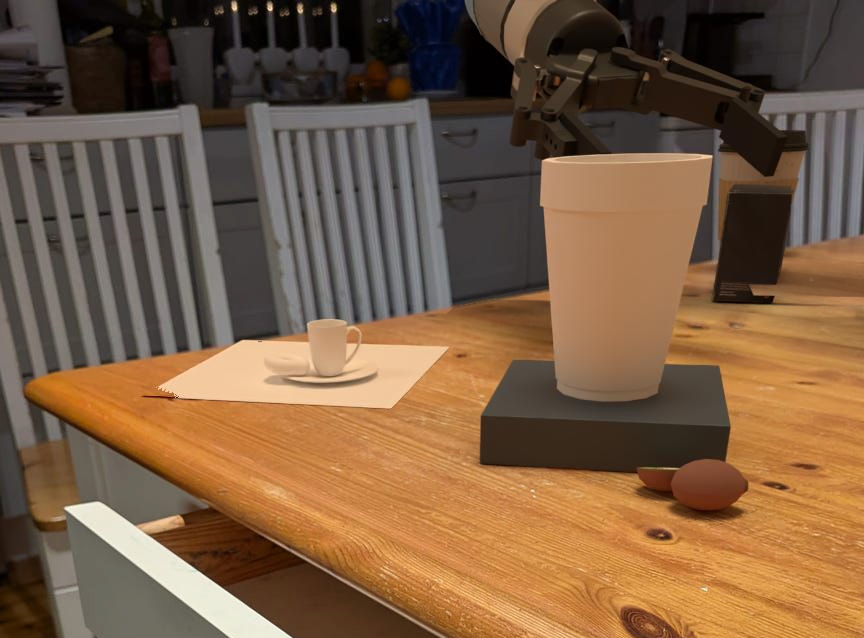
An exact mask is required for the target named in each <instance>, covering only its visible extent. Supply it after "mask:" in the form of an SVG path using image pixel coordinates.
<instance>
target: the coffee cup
mask: <svg viewBox="0 0 864 638" xmlns="http://www.w3.org/2000/svg"><path fill="white" fill-rule="evenodd" d="M779 130H780V131H781V132H783V133H784V134H785V135H786V136H788V138H787V141H786V144H785V147H784V149H783V152H782V155H781V157H780V160H779V163H778V166H777V168H776V171H775V174H774V176H770V177H764V176H763V175H762V174H761V173H759V172H758V171H757V170H756V169H755V168H754V167H753V166H751V165H750V164H749V163H748V162H747V161H746V160H745V159H743V158H742V157H741V156H740V155H739V154H738V153H737V152H735V151H734V150H733V149H732V148H731V147H730V146H729V145H727V144H726V143H725V142H724V141H723V140H722V143H720V144H719V146H718V147H719V148H718V149H717V152H718V153H720V178H718V215H717V216H718V218H717V219H718V220H717V223H718V224H717V240H718V251H719V250H720V241H721V235H722V228H723V222H724V214H725V207H726V200H727V194H728V192H729V190H730V189H731V188H732V186H733V185H734V184H756V185H781V186H792V204H791V206H792V205H793V201H794V198H795V194H796V190H797V186H798V183H799V180H800V177H799V173H800V170H801V167H802V163H803V158H804V156H805V152H807V151H809V149H810V147H809V145H810V144H809V142H807V133H806V132H807V131H806V130H803V129H779Z"/></svg>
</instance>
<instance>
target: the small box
mask: <svg viewBox="0 0 864 638" xmlns="http://www.w3.org/2000/svg"><path fill="white" fill-rule="evenodd" d="M791 204H792V205H793V202H792V186H781V185H756V184H734V185H733V186H732V188H731V189H730V190H729V192H728V194H727V200H726V207H725V214H724V222H723V228H722V235H721V241H720V250H719V249H718V258H717V264H716V270H715V276H714V281H713V286H712V287H713V288H712V294H711V301H713V302H715V301H718V302H719V301H721V302H742V303H743V302H745V303H766V304H772V303H774V300H775V295H773V294H772V295H766V294H764V295H762V294H761V295H760V294H754V293H753V290H752V288H751V286H750V285H753V286H755V285H756V286H776V285H778V284H779V281H780V276H781V271H782V267H783V262H784V257H785V251H786V247H787V246H786V245H787V241H788V235H789V229H790V223H791V217H792V205H791Z"/></svg>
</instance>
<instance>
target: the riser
mask: <svg viewBox="0 0 864 638" xmlns="http://www.w3.org/2000/svg"><path fill="white" fill-rule="evenodd" d="M479 424H480V430H479V464H480V465H481V464H482V465H496V466H497V465H500V466H517V467H533V468H534V467H535V468H536V467H537V468H552V469H553V468H554V469H568V470H569V469H571V470H573V469H574V470H588V471H589V470H591V471H604V472H605V471H608V472H625V473H638V472H637V468H638V467H666V468H681V467H682V466H683V465H685V464H688V463H690V462H693V461H696V460H703V459H712V460H720V461H723V462H726V463H727V454H728V448H729V442H730V435H731V428H732V425H731V421H730V415H729V409H728V405H727V399H726V394H725V388H724V383H723V378H722V372H721V368H720V365H716V364H715V365H714V364H713V365H712V364H681V363H676V364H675V363H665V365H664V369H663V373H662V378H661V382H660V383H659V388H658V393H657V394H655V395H652V396H650V397H648V398H645V399H638V400H632V401H609V402H602V401H593V400H584V399H578V398H575V397H571V396H568V395H564V394H563V393H561V392H560V391H559V390H558V389H557V379H556V375H555V361H554V360H546V359H545V360H544V359H543V360H542V359H514V358H513V359H512V361H511V362H510V365H509V366H508V367H507V370H506V371H505V373H504V375H503V376H502V378H501V379H500V382H499V383H498V384H497V387H496V388H495V390H494V392H493V394H492V395H491V397H490V399H489V400H488V401H487V404H486V405H485V407H484V409H483V411H482V412H481V414H480V423H479Z"/></svg>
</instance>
